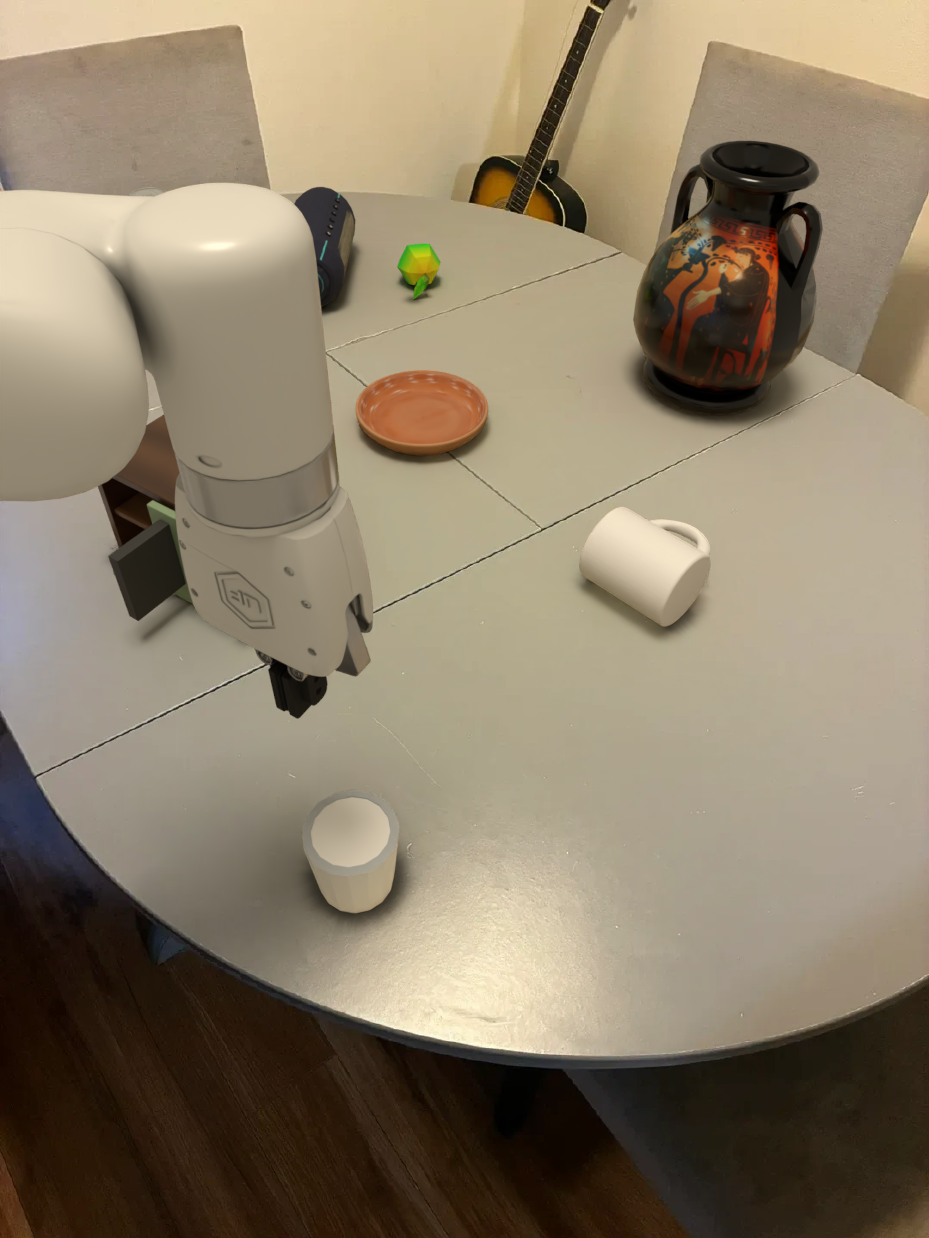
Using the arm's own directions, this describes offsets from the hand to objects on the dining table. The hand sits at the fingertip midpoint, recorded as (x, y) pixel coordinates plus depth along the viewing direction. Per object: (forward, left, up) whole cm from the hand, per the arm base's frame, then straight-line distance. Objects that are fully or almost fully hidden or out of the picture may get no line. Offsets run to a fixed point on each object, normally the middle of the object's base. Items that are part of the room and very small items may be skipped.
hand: (302, 698), depth 56 cm
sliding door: (+10, +25, -17) cm, 32 cm away
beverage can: (+61, +80, -18) cm, 102 cm away
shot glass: (-1, -4, -18) cm, 18 cm away
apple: (+81, +47, -18) cm, 95 cm away
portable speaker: (+74, +61, -18) cm, 97 cm away
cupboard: (+20, +30, -18) cm, 40 cm away
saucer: (+51, +26, -18) cm, 60 cm away
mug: (+41, -9, -18) cm, 45 cm away
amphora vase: (+80, +1, -18) cm, 82 cm away
